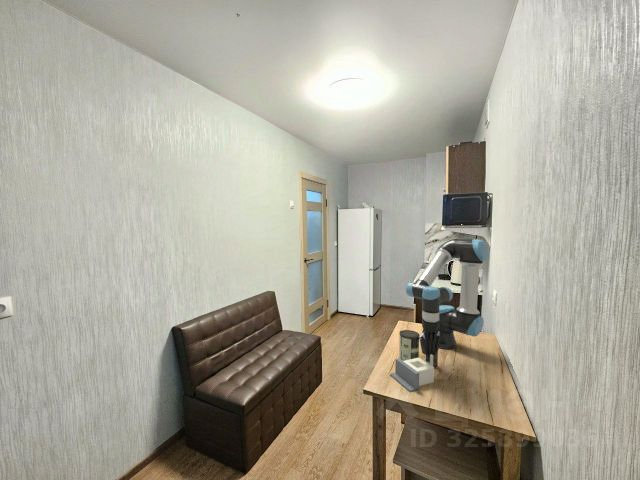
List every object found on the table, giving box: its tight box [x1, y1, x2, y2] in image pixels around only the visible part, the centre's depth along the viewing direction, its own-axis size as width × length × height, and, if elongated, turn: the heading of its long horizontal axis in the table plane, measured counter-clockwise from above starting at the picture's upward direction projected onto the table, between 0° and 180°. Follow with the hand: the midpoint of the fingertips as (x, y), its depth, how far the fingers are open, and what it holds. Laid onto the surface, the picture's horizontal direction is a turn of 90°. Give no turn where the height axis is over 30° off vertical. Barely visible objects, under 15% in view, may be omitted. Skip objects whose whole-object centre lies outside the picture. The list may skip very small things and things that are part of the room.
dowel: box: [433, 349, 439, 369], centre depth 138 cm, size 3×3×16 cm
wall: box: [389, 357, 420, 393], centre depth 124 cm, size 5×14×8 cm, turn 21°
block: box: [403, 357, 435, 387], centre depth 127 cm, size 10×10×7 cm
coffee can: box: [398, 329, 420, 361], centre depth 146 cm, size 10×10×14 cm
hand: (429, 367), depth 130 cm, fingers closed
